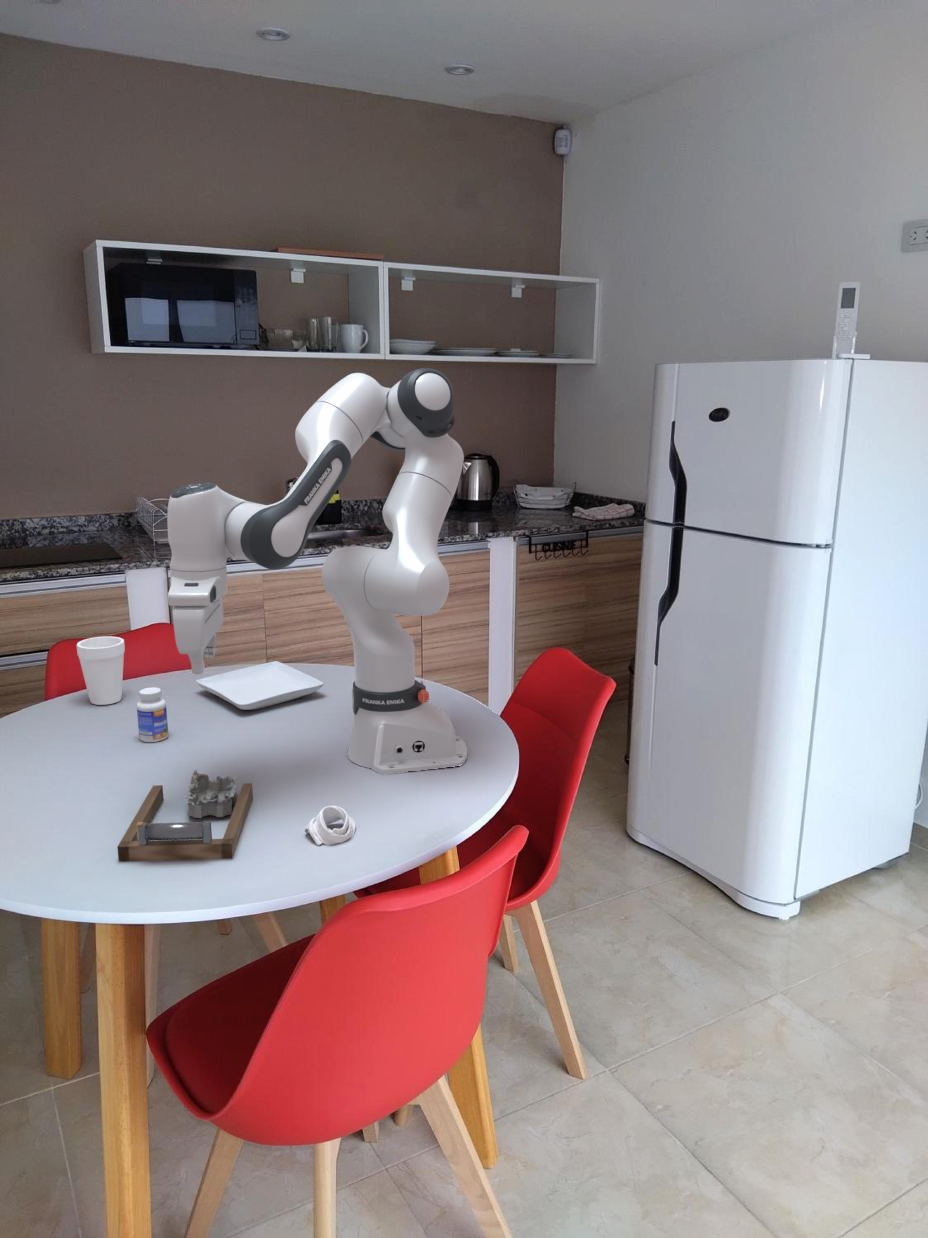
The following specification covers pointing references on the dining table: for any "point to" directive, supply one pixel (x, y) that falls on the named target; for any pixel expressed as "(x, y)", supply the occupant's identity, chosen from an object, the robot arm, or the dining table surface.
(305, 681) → the salad plate
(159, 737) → the pill bottle
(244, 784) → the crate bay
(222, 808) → the egg carton
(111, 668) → the foam cup
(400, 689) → the robot arm
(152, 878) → the dining table surface
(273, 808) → the dining table surface
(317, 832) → the white crumpled cloth
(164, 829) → the winch
